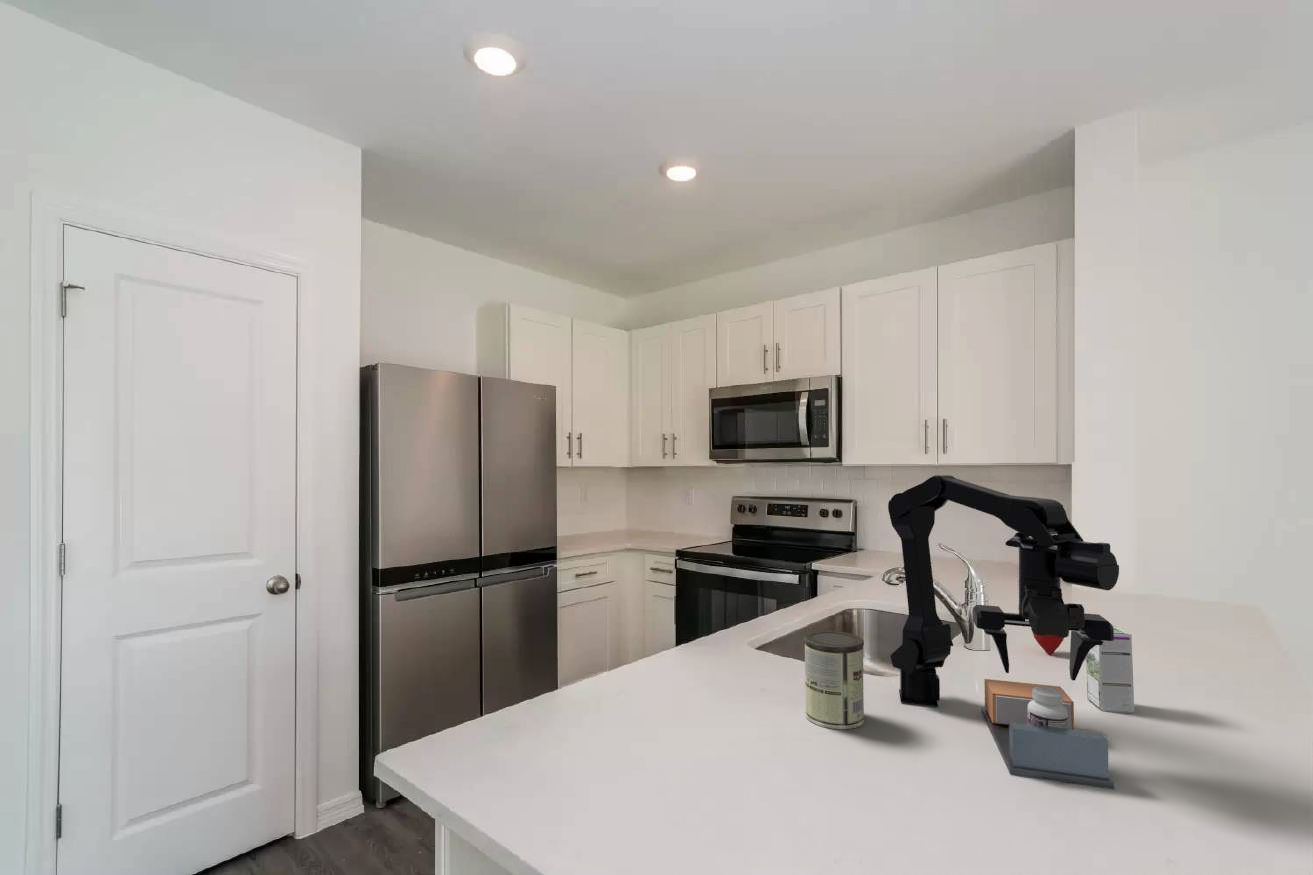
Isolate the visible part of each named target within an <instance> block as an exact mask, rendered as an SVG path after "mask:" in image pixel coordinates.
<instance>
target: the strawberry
mask: <svg viewBox="0 0 1313 875" xmlns="http://www.w3.org/2000/svg"><path fill="white" fill-rule="evenodd" d="M1032 635H1033V638H1034V640H1035V641H1036V642H1037V644H1038V645H1039V646H1040V647H1041V649H1043V650H1044V652H1045V654H1047V655H1049V656H1050V655H1052V654H1054V652H1055V651H1056V650H1057V649H1058V648H1059V647H1060V646H1061V644H1062V642H1063V641H1064V639H1065V638H1062V637H1058V636H1053V635H1044V636H1040V635H1037V634H1035V633H1033V632H1032Z"/></svg>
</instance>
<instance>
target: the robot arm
mask: <svg viewBox="0 0 1313 875" xmlns="http://www.w3.org/2000/svg"><path fill="white" fill-rule="evenodd" d="M888 500H889V501H888V504H887V509H888V513H889V514H888V515H889V519H890V523H891V527H892V528H893V529H894V531H895V532H896V534H897V535H898V537H899V538H900V541H901V550H902V551H901V552H902V560H903V569H904V578H905V580H904V581H905V589H906V599H907V608H908V610H907V611H908V615H907V619H906V620H905V623H904V625H903V628H902V636H901V637H902V638H901V645H900V646H899V647H898V648H896V650H894V652H892V653H891V654H890V661H891V664H892V667H893V668H895V669H899V690H898V693H899V700H900V703H902V704H908V705H909V704H910V705H919V706H927V707H934V708H935V707H936V708H937V707H938V706H939V703H938V702H939V701H940V700H941V696H940V695H941V694H940V692H941V691H940V690H941V688H940V687H941V686H940V682H941V681H940V679H941V678H940V676H939V674H937V670H936V669H937V668H943V667H944V664H945V661H946V659H947V658H948V657H949V656H950V655H951V650H952V648H951V647H954V643H953V641H952V636H951V632H952V631H951V630H952V628H951V625H950V624H949V623H943V621H942V620H941V618H940V617H939V615H938V612H937V606H936V596H935V594H936V593H935V586H934V580H933V579H934V575H933V568H932V560H931V559H932V558H931V549H930V538H929V537H930V535H931V533H932V530H933V528H934V526H935V520H936V519H935V518H936V511H938V510H939V509H942V508H943V507H944V506H945V505H946V503H947V502H948V501H950V502H953V503H956V504H958V505H962V506H964V507H967V508H971V509H973V510H976V511H979V512H982V513H985V514H988V515H991V516H993V517H994V518H996V519H999V520H1000V521H1001V522H1002V523H1003V524H1004V525H1005V526H1006V527H1008V528H1010V529H1012V530H1013V531H1016V533H1015V534H1014V535H1013V536H1012V537H1011V538H1010V539H1008V540H1006V542H1005V545H1006V546H1008V547H1011V548H1013V547H1014V548H1018V613H1012V612H1004V611H1003V610H1002V608H1000V606H998V605H985V604H975V606H973V607H972V622H973V624H974V625H975V626H976V628H977V629H980V630H982V631H984V633H985V634H986V635H988V636H991V637H992V640H993V641H994V643H995V646H996V649H997V652H998V655H999V657H1000V660H1001V663H1002V667H1003V670H1004V672H1005V673H1006V674H1010V673H1009V672H1010V661H1009V660H1010V658H1009V652H1008V651H1009V650H1008V643H1007V642H1008V640H1007V637H1008V634H1007V632H1006V630H1005V629H1004V628H1005V626H1006V625H1009V626H1016V627H1027V628H1028V627H1029V628H1030V629H1031V632H1032V634H1033V633H1035V634H1037V635H1040V636H1044V635H1053V636H1058V637H1062V638H1064V639H1066V638H1068V637H1069V635H1070V646H1069V676H1070V680H1071V681H1076V679H1077V677H1078V674H1079V672H1080V670H1081V668H1082V666H1083V663H1084V662H1085V659H1086V656H1087V654H1088V652H1089V651H1090V650H1091V649H1092V648H1093V647H1094V646H1096V645H1103V641H1102V640H1104V641H1114V629H1113V626H1114V625H1113V624H1112V623H1111V622H1110V621H1109V620H1108V619H1106V618H1104V616H1102V615H1100V614H1097V613H1085V608H1084V606H1083V604H1081V603H1070V602H1069V603H1065V602H1064V599H1063V593H1062V588H1061V580H1062V581H1063V582H1064V583H1066V584H1070V585H1074V586H1075V585H1076V586H1080V587H1081V586H1082V587H1087V588H1093V589H1097V590H1102V591H1111V590H1113V589H1114V587H1115V586H1116V584H1117V583H1118V580H1119V575H1120V565H1119V564H1118V561H1117V558H1116V556H1115V554H1114V553H1113V552H1112V551H1111V544H1110V543H1109V542H1108V543H1107V542H1090V541H1085V540H1084V539H1083V538H1082V536H1081V535H1080V533H1079V532H1078V530H1076V528H1075V526H1074V525H1073V523H1072V522H1071V520H1069V518H1068V514H1067V511H1066V509H1065V508H1064V505H1063V504H1062V503H1061V502H1060V501H1057V500H1056V499H1051V498H1041V497H1035V496H1022V495H1012V494H1008V493H1005V492H1001V491H998V490H994V489H992V488H989V487H985V486H983V485H978V484H975V483H972V482H969V481H966V480H962V479H960V478H956V477H954V476H953V475H950V474H949V475H948V474H947V475H946V474H945V475H944V474H943V475H941V474H939V475H933V476H931V477H929V478H927V480H926V479H925V481H923V482H921V483H919V484H917V485H915V486H913V487H910V488H908V489H906V490H905V491H903V492H898V493H895V494H894V495H893V496H891V499H888Z"/></svg>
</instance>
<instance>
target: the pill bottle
mask: <svg viewBox="0 0 1313 875" xmlns="http://www.w3.org/2000/svg"><path fill="white" fill-rule="evenodd" d="M1032 697H1033V699H1034V700H1032V701H1030V702H1029V703H1028V707H1027V716H1028V724H1030V725H1039V726H1047V727H1056V728H1064V729H1068V712H1067V710H1066V709H1065V707H1064V706H1062V705H1061V704H1062V702H1063V696H1062V693H1061V692H1060V691H1058V690H1055V689H1052V688H1048V687H1034V688H1033V689H1032Z"/></svg>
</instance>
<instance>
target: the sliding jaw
mask: <svg viewBox="0 0 1313 875" xmlns="http://www.w3.org/2000/svg"><path fill="white" fill-rule="evenodd" d="M1034 687H1048V688H1052V689H1055V690H1058V691H1060V692H1061V693H1062V696H1063V702H1062V704H1061V705H1062V706H1064V707H1065V709H1066V710H1067V712H1068V729H1073V730H1075V707H1074V706H1075V703H1074V701H1073V699H1072V697H1070V696H1069V695H1068V694H1067V693H1066V691H1065V690H1064V689H1063V688H1062V687H1061V686H1058V685H1050V684H1049V685H1048V684H1038V683H1030V682H1029V683H1028V682H1022V681H1021V682H1019V681H1009V680H999V679H989V678H984V707H985V708H986V710H987V712H988V714H989V716H990V718H991V720H992V722H993V723H997V724H1005V725H1009V722H1013V723H1022V724H1028V716H1027V707H1028V703H1029V702H1030V701H1032V700H1034V699H1033V697H1032V689H1033V688H1034Z"/></svg>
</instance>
